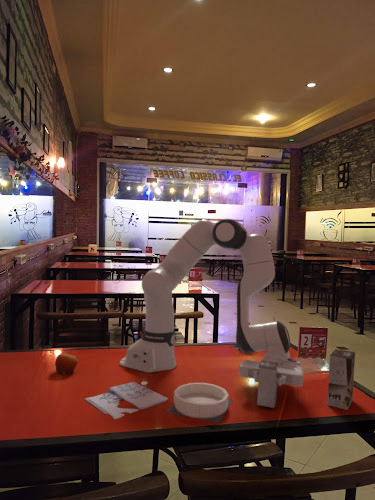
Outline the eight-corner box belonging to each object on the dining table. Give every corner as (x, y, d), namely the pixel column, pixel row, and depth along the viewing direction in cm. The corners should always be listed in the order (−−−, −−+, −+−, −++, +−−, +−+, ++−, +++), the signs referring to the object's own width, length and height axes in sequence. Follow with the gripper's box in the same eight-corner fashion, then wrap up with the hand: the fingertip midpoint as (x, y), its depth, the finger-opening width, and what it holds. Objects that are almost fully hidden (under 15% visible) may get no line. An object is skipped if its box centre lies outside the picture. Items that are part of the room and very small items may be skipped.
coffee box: (348, 410, 119) (351, 358, 119) (326, 405, 123) (329, 354, 122) (353, 400, 127) (356, 351, 126) (332, 395, 131) (335, 348, 130)
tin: (256, 404, 117) (258, 365, 117) (259, 398, 122) (261, 359, 122) (274, 408, 116) (276, 367, 115) (276, 401, 120) (278, 362, 120)
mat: (166, 414, 113) (166, 412, 113) (185, 393, 128) (185, 391, 128) (219, 425, 108) (219, 423, 108) (232, 402, 123) (232, 400, 123)
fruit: (46, 371, 140) (54, 349, 144) (58, 376, 146) (66, 355, 150) (64, 375, 137) (72, 352, 141) (76, 379, 143) (83, 358, 147)
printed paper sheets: (169, 404, 121) (170, 398, 120) (112, 424, 107) (113, 417, 107) (135, 385, 135) (135, 379, 135) (81, 400, 121) (81, 394, 121)
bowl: (166, 412, 113) (166, 398, 113) (185, 391, 128) (185, 379, 128) (219, 423, 108) (219, 408, 107) (232, 400, 123) (233, 387, 122)
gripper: (243, 353, 134) (234, 365, 121) (305, 362, 127) (302, 376, 114) (242, 371, 134) (233, 385, 121) (304, 381, 127) (301, 397, 115)
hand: (267, 381), depth 118 cm, fingers closed on tin, 5 cm apart
